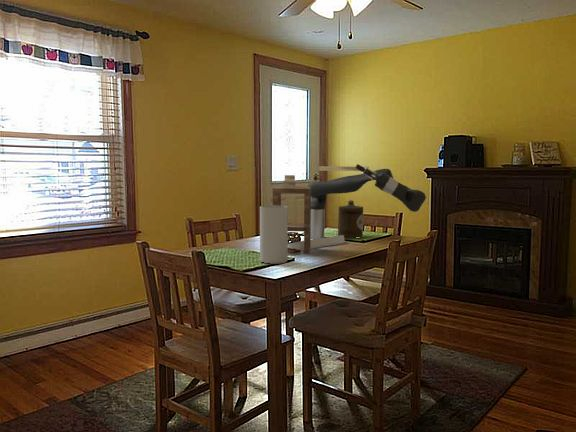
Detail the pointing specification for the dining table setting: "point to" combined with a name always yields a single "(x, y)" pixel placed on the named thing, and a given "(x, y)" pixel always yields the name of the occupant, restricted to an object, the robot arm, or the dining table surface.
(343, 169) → the birch slat
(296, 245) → the decorative molding
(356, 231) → the wooden container
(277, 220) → the cylinder vase
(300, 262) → the dining table surface
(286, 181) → the offcut stack
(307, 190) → the walnut rack
